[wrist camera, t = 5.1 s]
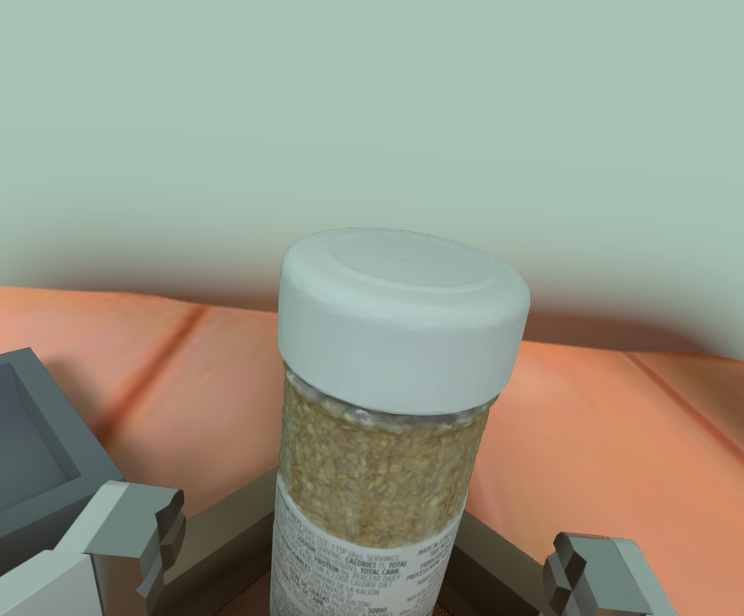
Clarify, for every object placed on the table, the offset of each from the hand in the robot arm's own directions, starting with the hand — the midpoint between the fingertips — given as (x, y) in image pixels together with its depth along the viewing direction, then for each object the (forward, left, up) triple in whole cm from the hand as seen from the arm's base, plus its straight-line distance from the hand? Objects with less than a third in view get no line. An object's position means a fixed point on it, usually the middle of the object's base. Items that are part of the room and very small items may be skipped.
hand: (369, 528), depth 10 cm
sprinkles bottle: (-1, -1, -8) cm, 8 cm away
